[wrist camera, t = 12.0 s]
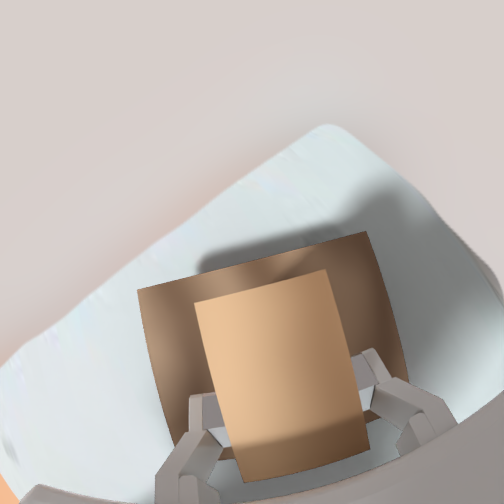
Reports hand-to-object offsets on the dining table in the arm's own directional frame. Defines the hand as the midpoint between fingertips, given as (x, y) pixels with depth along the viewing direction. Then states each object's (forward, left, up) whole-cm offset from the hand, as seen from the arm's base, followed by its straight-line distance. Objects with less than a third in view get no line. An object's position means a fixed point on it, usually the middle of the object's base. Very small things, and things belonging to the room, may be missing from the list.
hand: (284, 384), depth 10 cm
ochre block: (0, 0, -7) cm, 7 cm away
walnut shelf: (0, 0, -15) cm, 15 cm away
